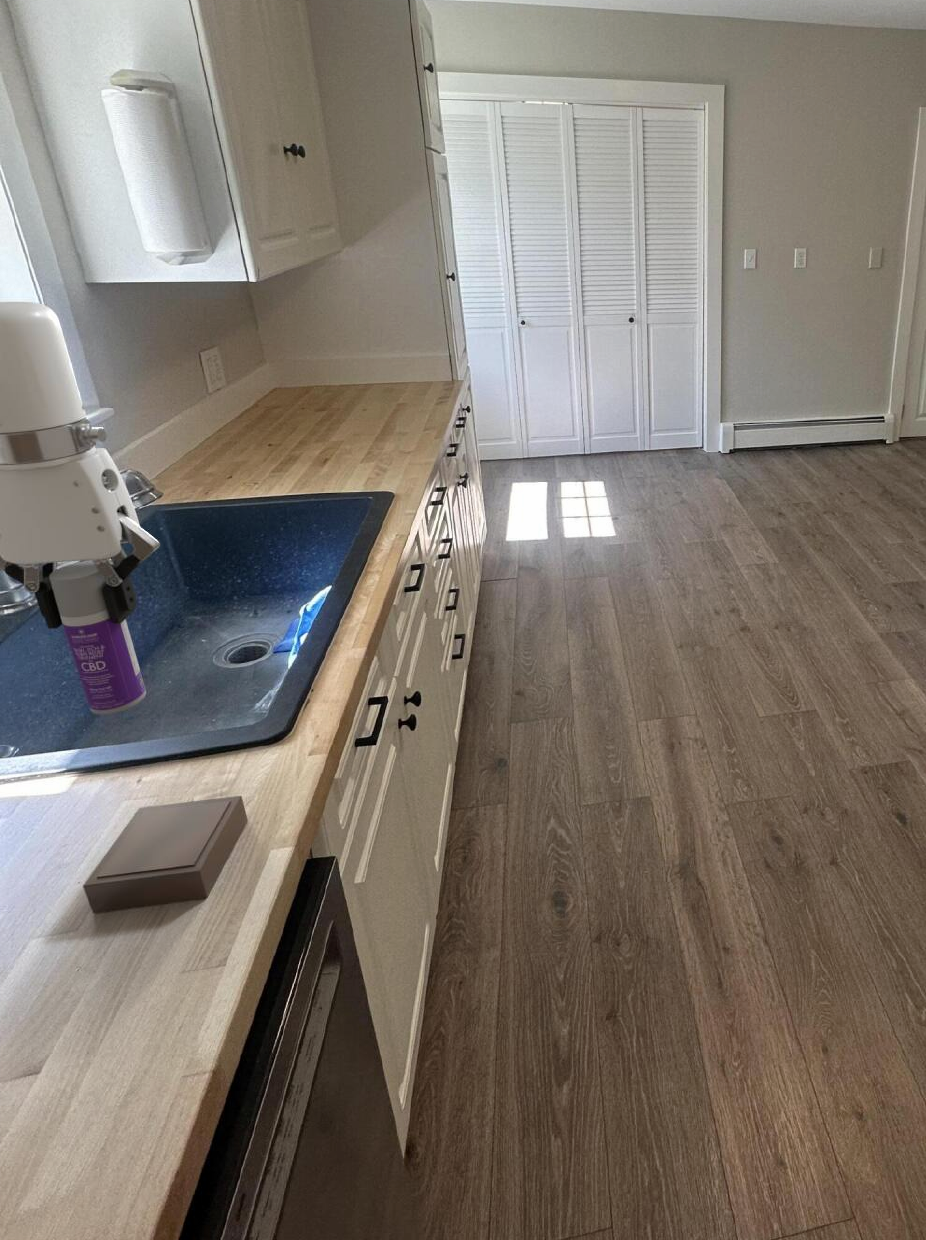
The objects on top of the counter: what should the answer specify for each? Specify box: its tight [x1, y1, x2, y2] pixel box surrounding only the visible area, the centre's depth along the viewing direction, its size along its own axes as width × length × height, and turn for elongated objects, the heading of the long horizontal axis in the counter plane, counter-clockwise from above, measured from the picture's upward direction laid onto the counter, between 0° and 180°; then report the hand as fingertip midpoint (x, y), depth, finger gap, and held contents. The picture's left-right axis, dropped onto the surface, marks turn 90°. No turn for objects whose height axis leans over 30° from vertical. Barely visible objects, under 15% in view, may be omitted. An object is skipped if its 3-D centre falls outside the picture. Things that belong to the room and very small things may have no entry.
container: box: [49, 560, 147, 715], centre depth 74 cm, size 5×5×15 cm
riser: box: [82, 795, 249, 914], centre depth 75 cm, size 10×10×4 cm
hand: (93, 617), depth 73 cm, fingers closed on container, 4 cm apart
